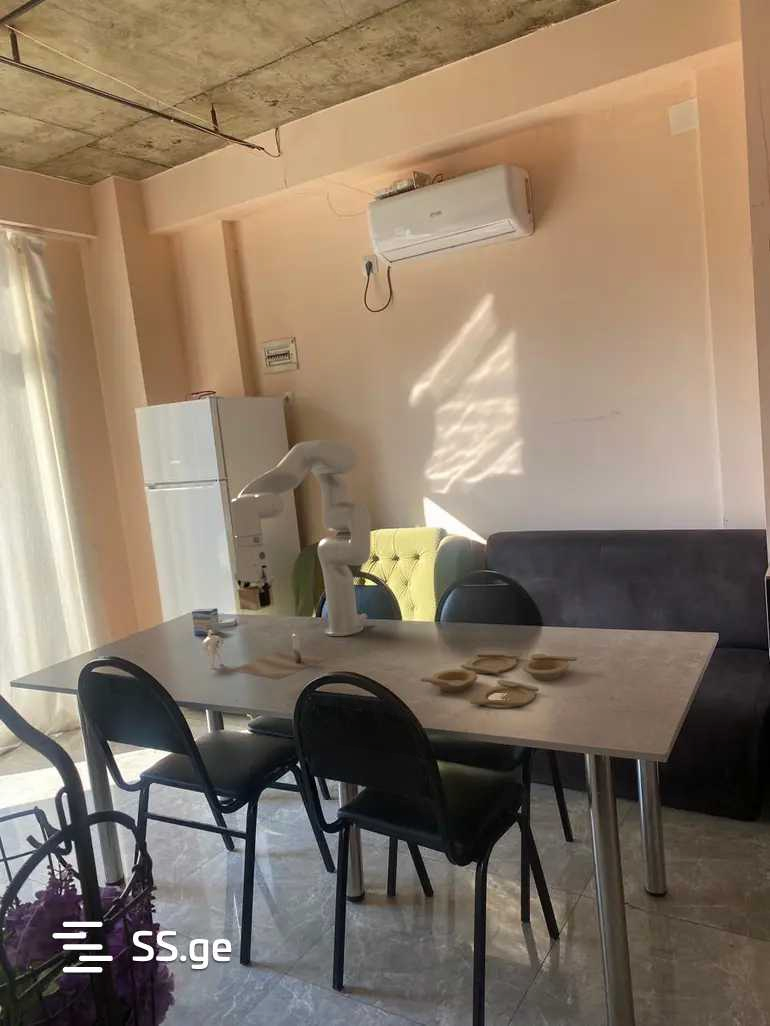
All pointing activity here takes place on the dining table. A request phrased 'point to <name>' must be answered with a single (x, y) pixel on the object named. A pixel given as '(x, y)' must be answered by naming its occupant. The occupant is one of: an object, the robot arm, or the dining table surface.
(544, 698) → the dining table surface
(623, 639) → the dining table surface
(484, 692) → the tableware set
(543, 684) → the dining table surface
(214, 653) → the figurine
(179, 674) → the dining table surface
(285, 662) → the wooden peg base
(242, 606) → the wooden cube
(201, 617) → the medicine box
